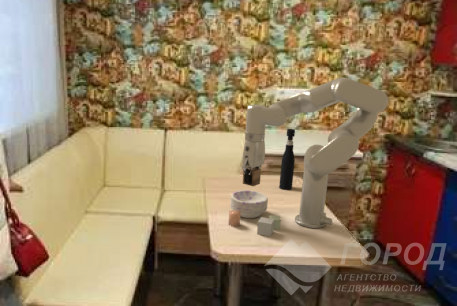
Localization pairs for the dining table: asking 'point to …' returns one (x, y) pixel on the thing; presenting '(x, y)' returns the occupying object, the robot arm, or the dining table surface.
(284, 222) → the dining table surface
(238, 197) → the paper bowls
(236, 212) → the cylinder
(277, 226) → the sage cube
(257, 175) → the walnut block
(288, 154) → the wine bottle
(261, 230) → the grey cube
